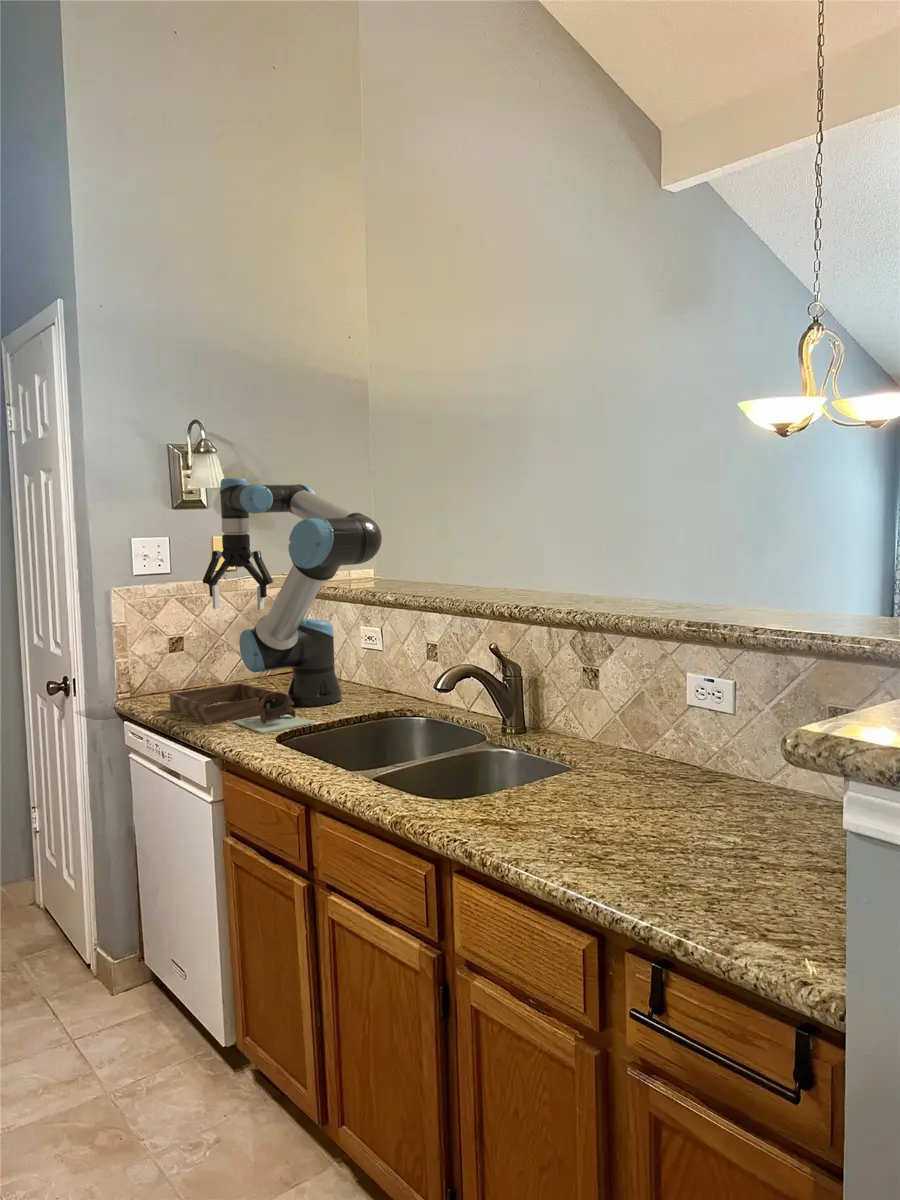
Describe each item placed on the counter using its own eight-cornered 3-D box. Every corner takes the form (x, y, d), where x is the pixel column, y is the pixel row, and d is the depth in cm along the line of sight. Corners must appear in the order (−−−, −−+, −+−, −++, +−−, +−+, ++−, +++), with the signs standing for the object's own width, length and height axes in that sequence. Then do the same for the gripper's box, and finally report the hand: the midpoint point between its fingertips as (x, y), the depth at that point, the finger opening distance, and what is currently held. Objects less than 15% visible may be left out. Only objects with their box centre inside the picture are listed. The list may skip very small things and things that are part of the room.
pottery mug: (306, 719, 229) (299, 695, 224) (279, 742, 223) (271, 718, 218) (274, 703, 235) (267, 679, 231) (247, 724, 230) (239, 701, 225)
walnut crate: (283, 711, 240) (283, 694, 239) (207, 724, 226) (206, 707, 226) (243, 698, 259) (242, 682, 258) (170, 709, 245) (169, 693, 245)
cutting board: (313, 724, 224) (313, 722, 224) (262, 734, 215) (262, 732, 215) (283, 714, 236) (283, 712, 236) (233, 722, 228) (233, 721, 228)
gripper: (282, 533, 253) (285, 607, 255) (201, 532, 258) (204, 606, 260) (271, 534, 245) (274, 611, 248) (188, 534, 251) (191, 609, 253)
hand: (238, 608), depth 254 cm, fingers open, 13 cm apart
